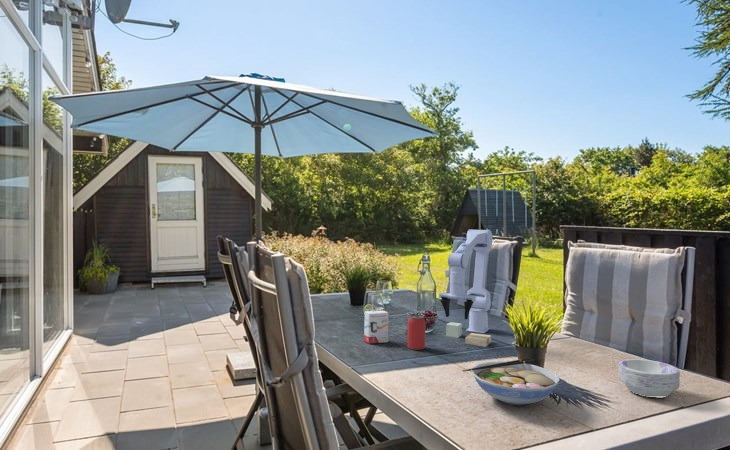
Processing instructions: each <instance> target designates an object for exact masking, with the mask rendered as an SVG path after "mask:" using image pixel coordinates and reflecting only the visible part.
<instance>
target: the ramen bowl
mask: <svg viewBox="0 0 730 450" xmlns="http://www.w3.org/2000/svg"><path fill="white" fill-rule="evenodd" d="M530 363H531V364H530ZM532 363H536V359H532V358H531V357H525V358H522V359H514V360H510V361H507V360H505V361H504V360H498V361H497V360H496V361H495V360H494V361H485V362H482V363H478V364H476V365H475V366H473V367H472V368H468V369H463V370H461V371H462V372H472V375H473V377H474V379H475V381H476V382H477V384H478V386H479V387H480V388H481V390H483V391H484V392H486V393H487V394H488V395H489V396H490V397H491V398H494V399H497V400H499V401H501V402H503V403H505V404H507V405H511V406H512V405H513V406H524V405H528V404H534V403H538V402H541V401H542V400H545V399H547V397H549V395H550V394H552V392H553V391H554V389H556V387H557V386H558V384H559V383H560V380H561V379H560V377H559V376H558V375H557V374H556V373H555V372H554V371H551V370H549V369H547V368H545V367H541V366H539V365H535V364H532Z"/></svg>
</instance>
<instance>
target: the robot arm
mask: <svg viewBox="0 0 730 450" xmlns="http://www.w3.org/2000/svg"><path fill="white" fill-rule="evenodd" d="M492 247H493V233H492V231H491V229H472V228H471V229H470V228H469V229H468V230H467V233H466V241H465V242H463V243H461V244H460V245H459V246H458V248H457V249H456V250H455V251H454V252H451V253H450V254H449V255H448V257H447V265H448V272H449V292H439V293H438V299H440V302H441V305H442V307H443V310H444V313H445V317H446V318H449V317H450V305H451V300H459V301H463V304H464V320H468V321H469V322H468V323H469V326H468V328H467V329H465V331H466V332H470V333H477V334H485V333H487V332H488V331H489V330H490V327H488V325H489V323H488V321H489V320H488V319H489V317H488V314H489V313H488V311H489V310H490V308H491V306H492V305H491V304H492V299H491V292H489V291H488V290H487V289H486V288H485V285H486V277H487V276H486V274H487V265H488V264H487V262H488V253H489V251H490V250H492ZM474 250H475V263H474V272H473V273H474V274H473V284H472V287H471V288H470V289H468V290H467V292H466V293H465V287H466V286H465V285H466V283H465V282H466V268H467V266H468V263H469V261H470V260H469V258H470V257H471V256H472V255H473V251H474Z"/></svg>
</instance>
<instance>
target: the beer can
mask: <svg viewBox="0 0 730 450" xmlns="http://www.w3.org/2000/svg"><path fill="white" fill-rule="evenodd" d="M426 324H427V323H426V319H425V316H424V315H421V314H411V315H409V317H408V320H407V349H410V350H413V351H422V350H424V349H425V348H426Z"/></svg>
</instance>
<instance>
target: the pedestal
mask: <svg viewBox="0 0 730 450" xmlns="http://www.w3.org/2000/svg"><path fill="white" fill-rule="evenodd" d="M464 339H465V343H464V344H465V345H469V344H470V345H471V346H479V347H484V348H486V347H488V345H490V344H491V343H492V335H489V334H484V333H476V332H470V334H468V335H467V336H465V338H464Z"/></svg>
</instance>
